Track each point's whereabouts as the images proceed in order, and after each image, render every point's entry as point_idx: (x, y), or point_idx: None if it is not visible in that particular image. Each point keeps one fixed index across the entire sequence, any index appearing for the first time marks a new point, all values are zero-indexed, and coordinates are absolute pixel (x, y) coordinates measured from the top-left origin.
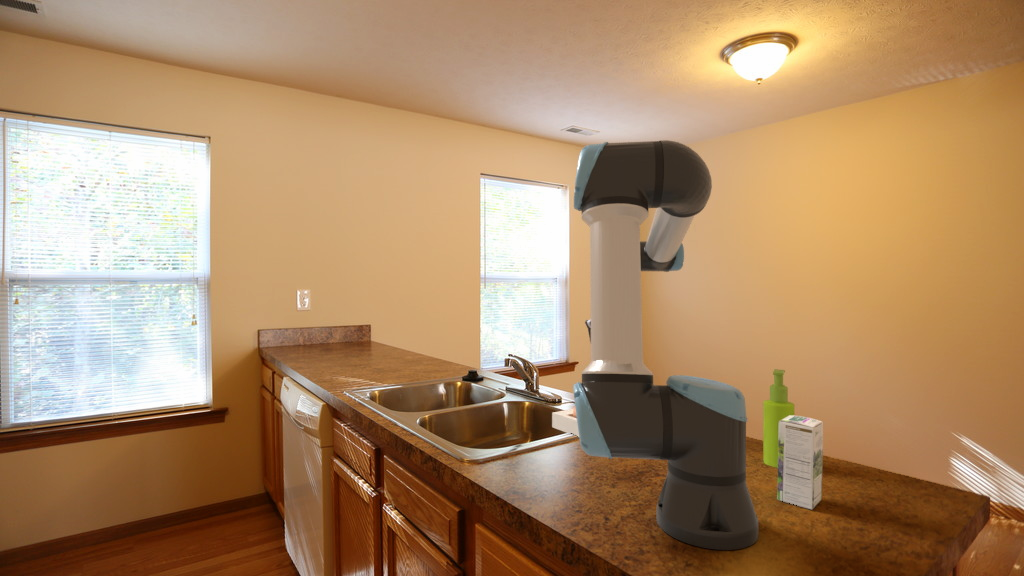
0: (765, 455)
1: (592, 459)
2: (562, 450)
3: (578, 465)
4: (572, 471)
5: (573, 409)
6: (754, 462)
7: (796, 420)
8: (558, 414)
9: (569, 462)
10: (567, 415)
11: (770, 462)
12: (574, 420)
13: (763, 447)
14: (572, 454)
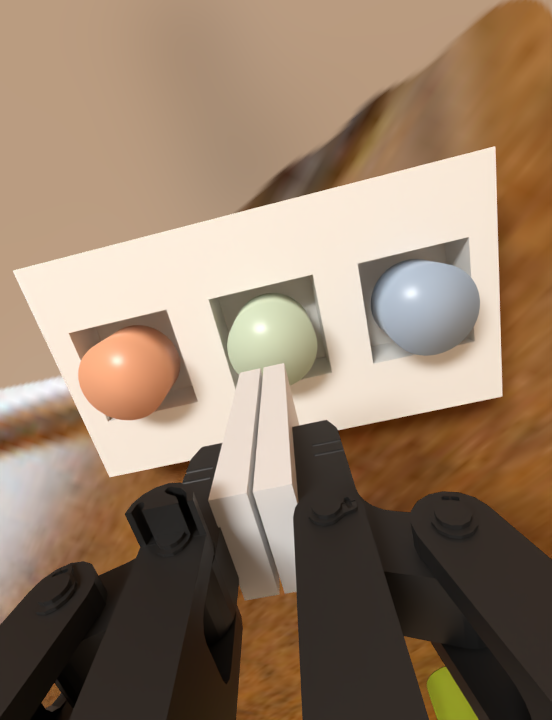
0: (436, 698)
1: (85, 559)
2: (26, 487)
3: (38, 577)
4: (13, 597)
5: (80, 372)
6: (418, 666)
7: None
8: (35, 312)
9: (21, 558)
10: (71, 343)
11: (429, 694)
12: (80, 412)
13: (450, 708)
14: (45, 519)
